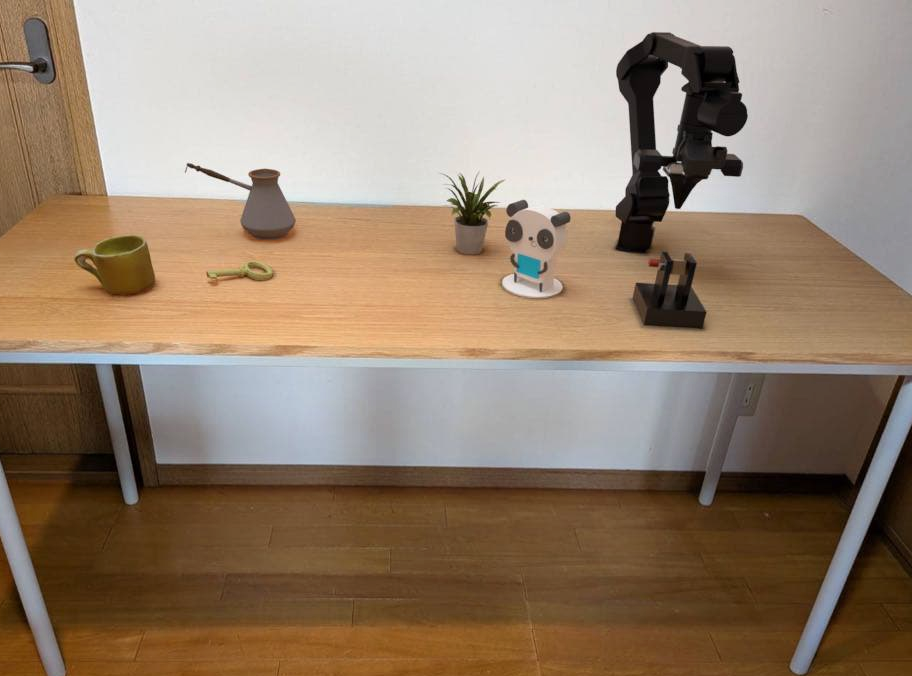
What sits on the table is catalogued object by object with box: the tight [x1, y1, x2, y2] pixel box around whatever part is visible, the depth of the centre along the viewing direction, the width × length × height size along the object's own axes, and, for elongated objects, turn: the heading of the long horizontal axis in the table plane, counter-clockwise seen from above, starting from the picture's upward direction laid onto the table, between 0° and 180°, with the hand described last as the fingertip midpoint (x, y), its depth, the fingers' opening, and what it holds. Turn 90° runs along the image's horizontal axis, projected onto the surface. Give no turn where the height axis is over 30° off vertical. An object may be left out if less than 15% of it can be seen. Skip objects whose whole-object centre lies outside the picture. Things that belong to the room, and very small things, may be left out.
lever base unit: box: [632, 251, 707, 330], centre depth 130 cm, size 11×10×11 cm
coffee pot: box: [184, 162, 297, 241], centre depth 154 cm, size 21×12×15 cm, turn 99°
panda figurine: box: [501, 199, 572, 299], centre depth 137 cm, size 12×11×15 cm
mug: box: [73, 234, 156, 296], centre depth 132 cm, size 12×10×10 cm
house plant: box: [439, 169, 506, 255], centre depth 151 cm, size 14×14×16 cm
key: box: [205, 260, 274, 281], centre depth 138 cm, size 7×12×2 cm, turn 139°
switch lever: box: [647, 258, 687, 276], centre depth 131 cm, size 10×6×2 cm, turn 177°
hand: (677, 208), depth 142 cm, fingers closed
